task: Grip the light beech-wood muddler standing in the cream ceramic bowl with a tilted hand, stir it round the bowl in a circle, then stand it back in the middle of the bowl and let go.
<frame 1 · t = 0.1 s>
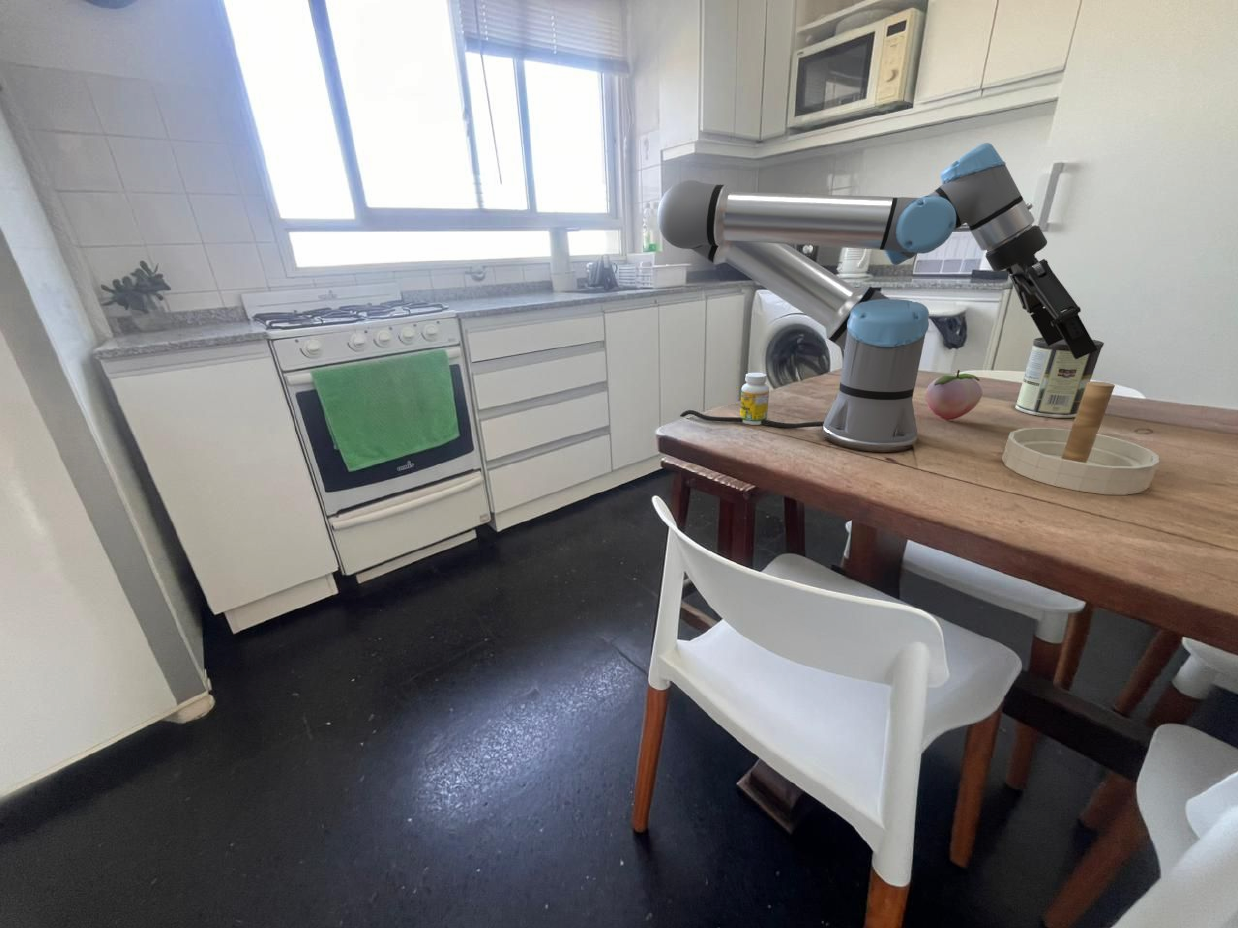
hand: (1070, 347, 83), 15 cm above the table, tool tilted 35°, fingers open, 13 cm apart
coffee can: (1045, 411, 100), on the table
muddler: (1070, 470, 72), point 1 cm above the table, touching bowl
bowl: (1068, 473, 73), on the table
decorative fruit: (945, 421, 97), on the table
supplement bottle: (752, 422, 100), on the table
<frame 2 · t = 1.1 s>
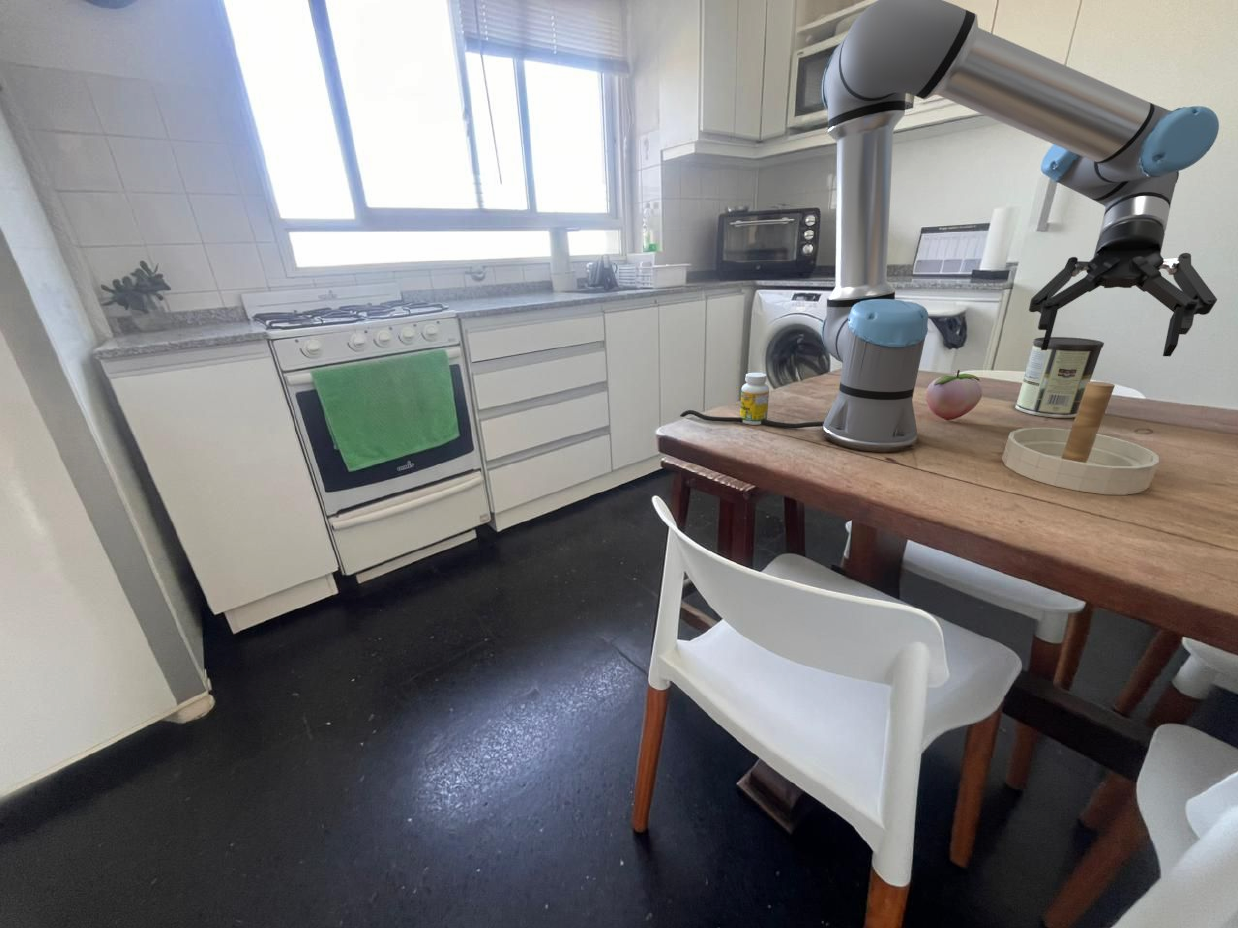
hand: (1104, 348, 73), 17 cm above the table, tool tilted 45°, fingers open, 13 cm apart
nothing on the table moved.
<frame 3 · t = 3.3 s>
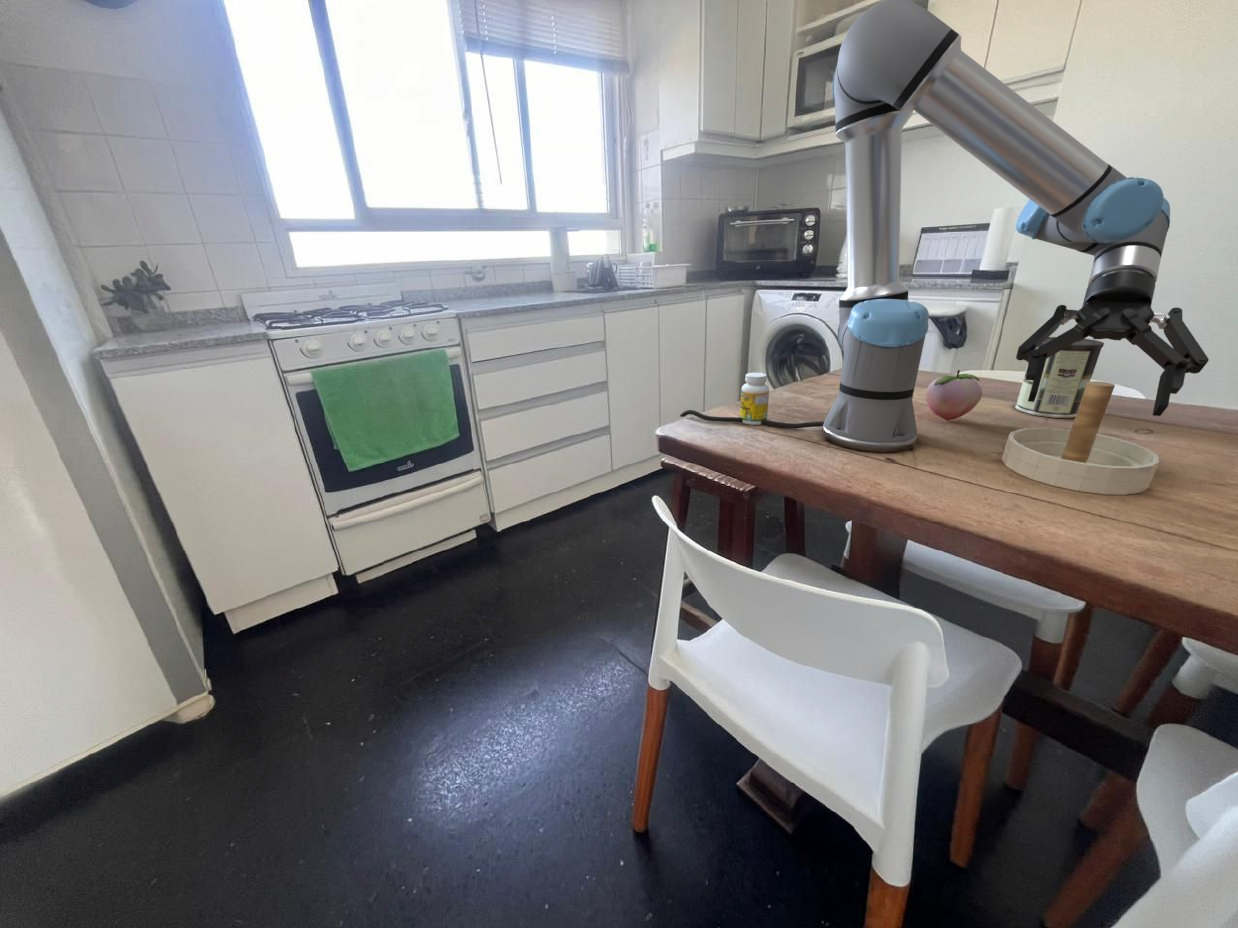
hand: (1092, 403, 71), 10 cm above the table, tool tilted 45°, fingers open, 13 cm apart
nothing on the table moved.
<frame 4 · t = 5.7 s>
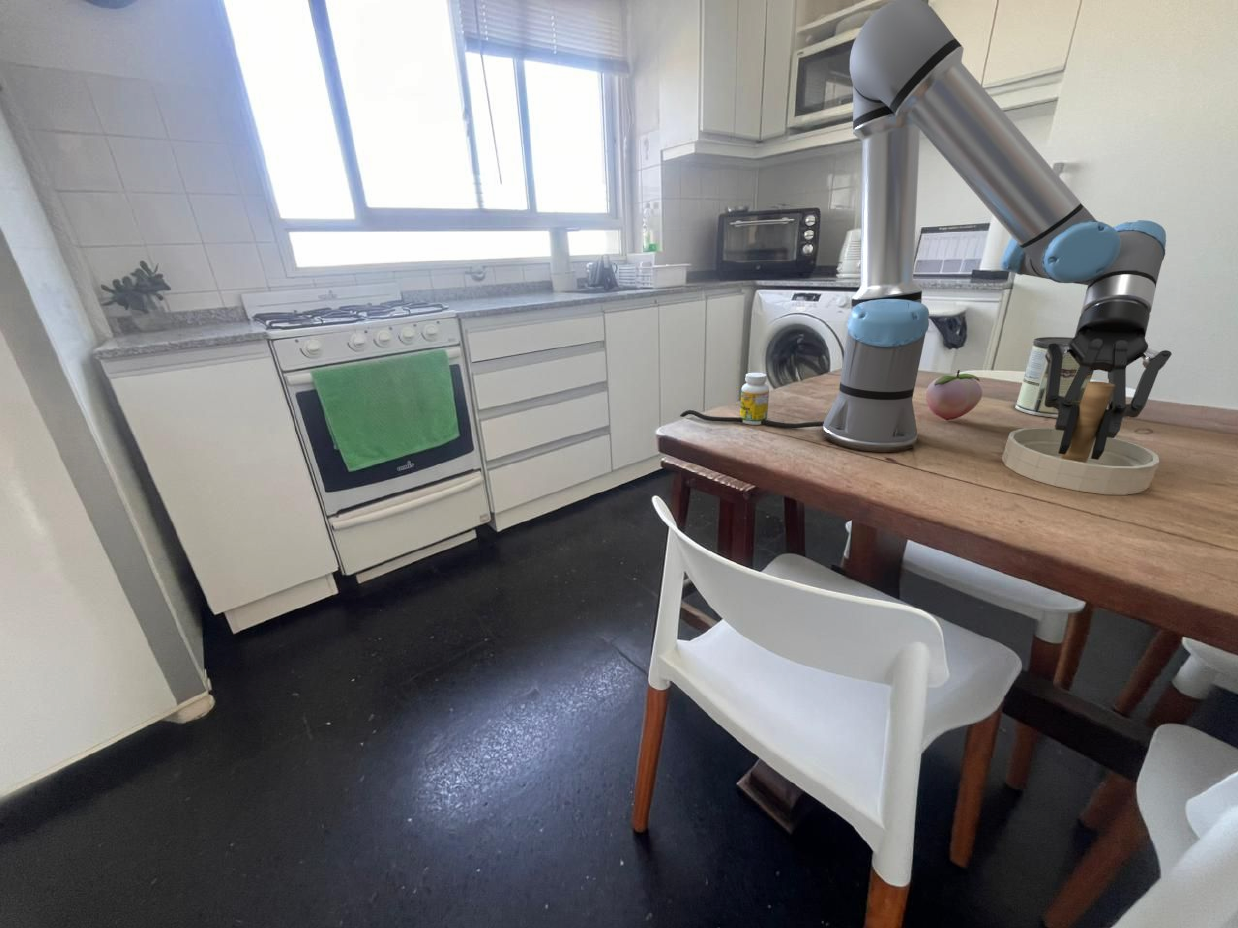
hand: (1080, 452, 68), 5 cm above the table, tool tilted 45°, fingers closed on muddler, 3 cm apart
muddler: (1070, 470, 72), point 1 cm above the table, touching gripper
everything else where it was.
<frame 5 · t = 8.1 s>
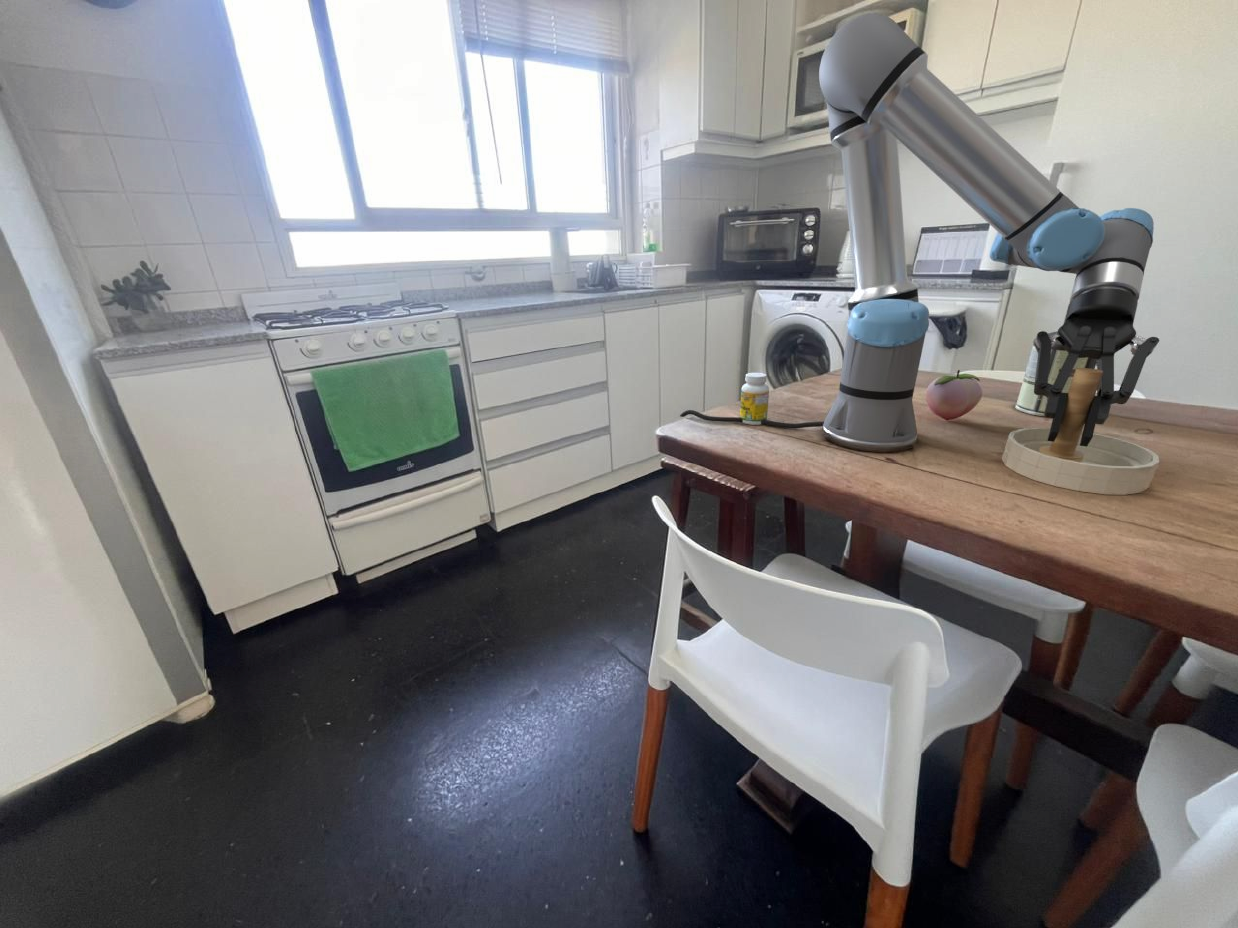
hand: (1069, 439, 68), 7 cm above the table, tool tilted 45°, fingers closed on muddler, 3 cm apart
muddler: (1059, 457, 72), point 2 cm above the table, touching gripper
everything else where it was.
when the fingers open (5 cm above the table, at t = 10.5 s): muddler stays where it is, resting on bowl.
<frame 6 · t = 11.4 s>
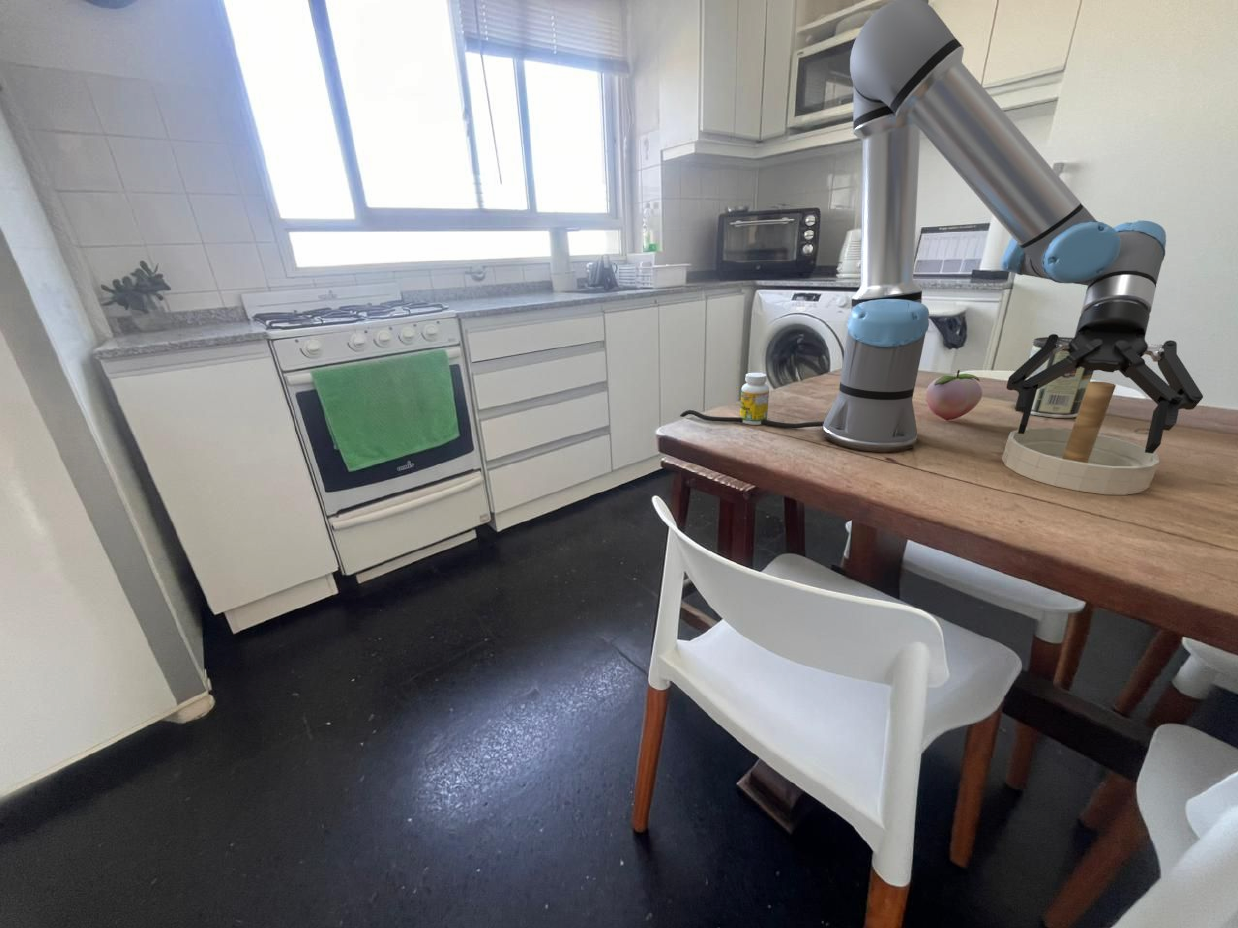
hand: (1083, 438, 69), 6 cm above the table, tool tilted 45°, fingers open, 13 cm apart
muddler: (1071, 470, 72), point 1 cm above the table, touching bowl
everything else where it was.
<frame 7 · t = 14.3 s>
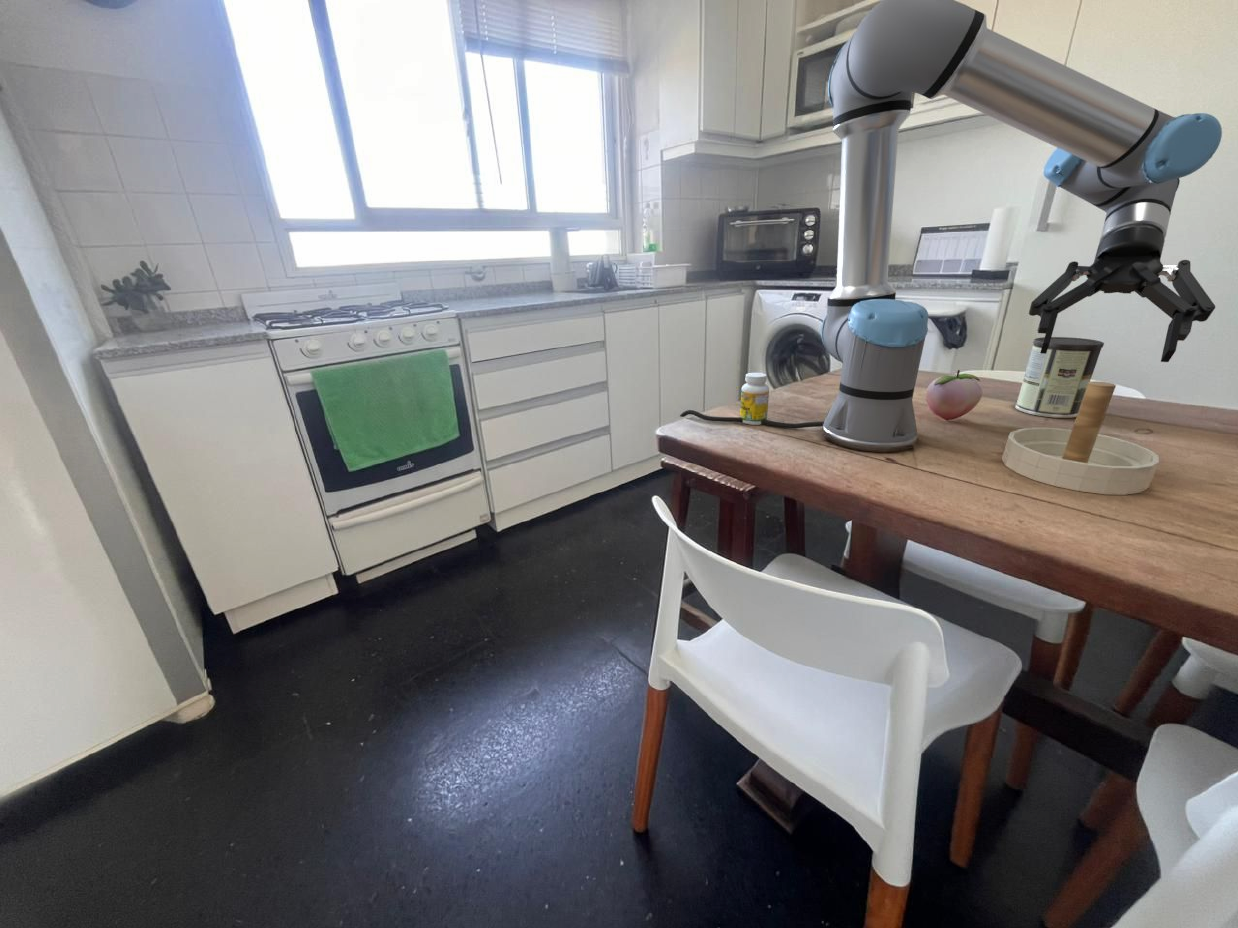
hand: (1102, 352, 74), 16 cm above the table, tool tilted 45°, fingers open, 13 cm apart
nothing on the table moved.
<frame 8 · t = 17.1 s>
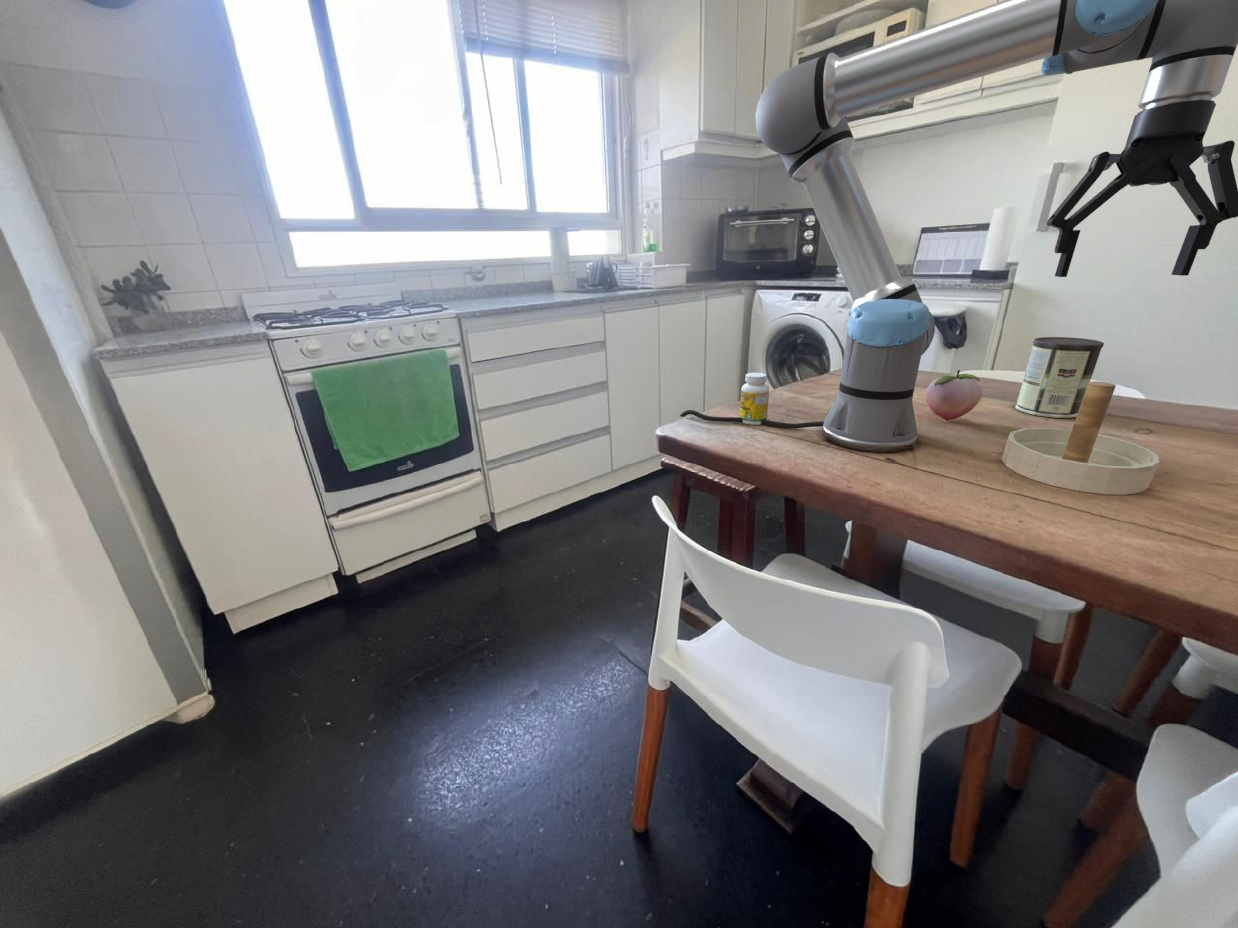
hand: (1117, 276, 74), 27 cm above the table, tool pointing down, fingers open, 13 cm apart
nothing on the table moved.
at the end: muddler inside the target area in the bowl (0.1 cm from its centre), point 0.6 cm above the bowl's base; muddler tilted 0°; the gripper is holding nothing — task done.
